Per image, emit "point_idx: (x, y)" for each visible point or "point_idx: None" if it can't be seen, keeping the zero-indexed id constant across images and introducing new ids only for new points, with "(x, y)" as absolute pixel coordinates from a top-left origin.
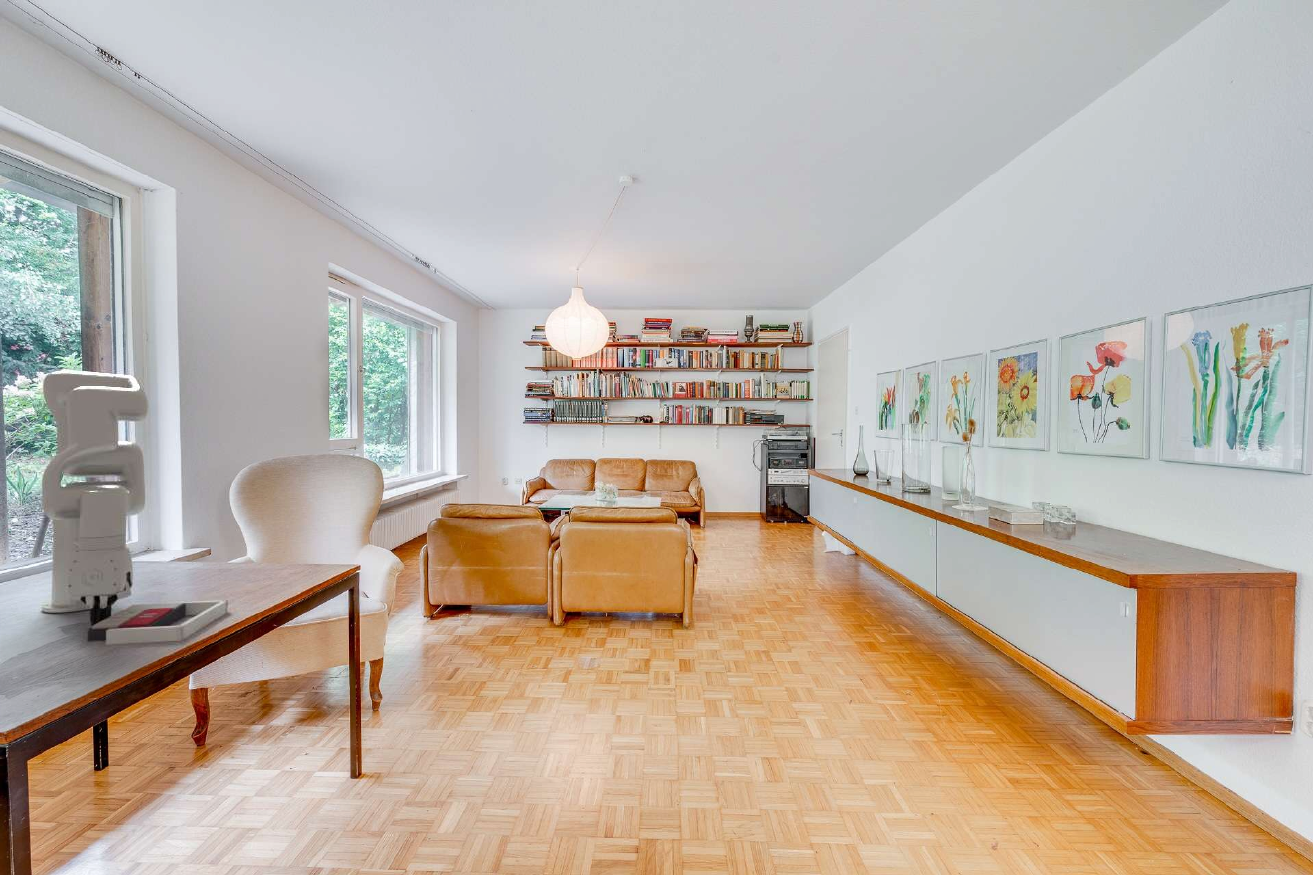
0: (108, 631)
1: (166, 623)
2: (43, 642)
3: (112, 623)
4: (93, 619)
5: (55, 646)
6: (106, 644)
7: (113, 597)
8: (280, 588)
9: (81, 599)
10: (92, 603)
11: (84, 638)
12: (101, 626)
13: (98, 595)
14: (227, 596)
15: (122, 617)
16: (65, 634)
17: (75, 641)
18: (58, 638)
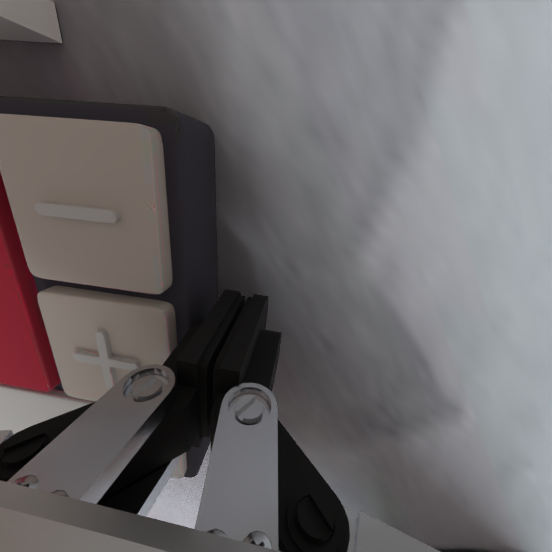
0: None
1: None
2: (449, 167)
3: (45, 163)
4: (245, 313)
5: (341, 43)
6: (50, 2)
7: (13, 455)
8: None
9: (340, 518)
10: (223, 425)
11: (255, 188)
12: (86, 121)
13: (20, 490)
14: None
15: (91, 296)
16: (386, 292)
17: (273, 137)
18: (393, 229)
